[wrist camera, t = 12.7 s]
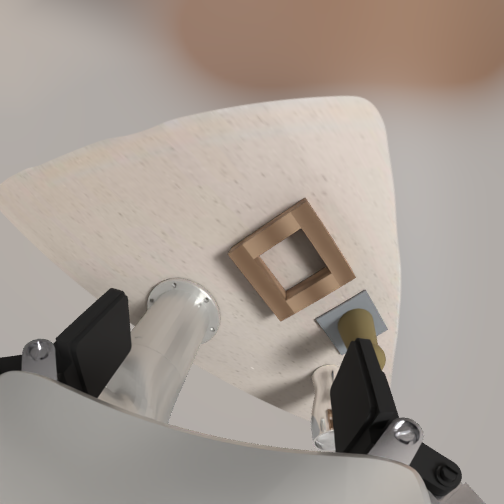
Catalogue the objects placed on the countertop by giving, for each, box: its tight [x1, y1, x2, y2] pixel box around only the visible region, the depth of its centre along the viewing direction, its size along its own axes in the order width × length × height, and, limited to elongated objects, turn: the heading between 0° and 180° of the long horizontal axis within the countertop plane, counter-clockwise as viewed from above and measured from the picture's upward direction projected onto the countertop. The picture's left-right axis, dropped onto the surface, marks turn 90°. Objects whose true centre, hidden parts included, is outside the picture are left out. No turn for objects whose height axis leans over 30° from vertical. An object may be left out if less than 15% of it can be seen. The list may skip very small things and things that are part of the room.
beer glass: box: [311, 365, 340, 452], centre depth 41 cm, size 7×7×15 cm
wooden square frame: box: [228, 198, 356, 321], centre depth 40 cm, size 13×13×3 cm
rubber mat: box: [316, 290, 388, 355], centre depth 44 cm, size 9×9×1 cm
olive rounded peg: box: [338, 308, 386, 370], centre depth 39 cm, size 6×6×11 cm
